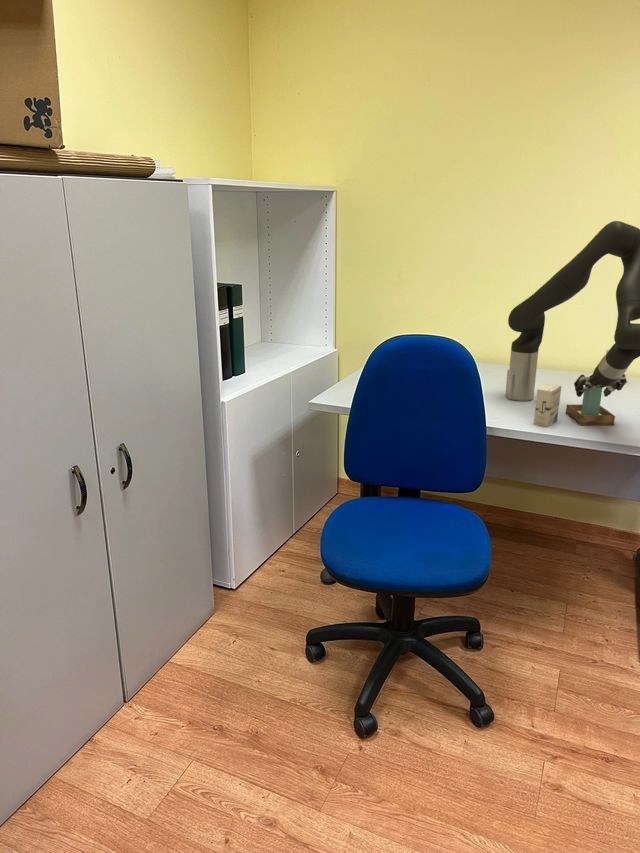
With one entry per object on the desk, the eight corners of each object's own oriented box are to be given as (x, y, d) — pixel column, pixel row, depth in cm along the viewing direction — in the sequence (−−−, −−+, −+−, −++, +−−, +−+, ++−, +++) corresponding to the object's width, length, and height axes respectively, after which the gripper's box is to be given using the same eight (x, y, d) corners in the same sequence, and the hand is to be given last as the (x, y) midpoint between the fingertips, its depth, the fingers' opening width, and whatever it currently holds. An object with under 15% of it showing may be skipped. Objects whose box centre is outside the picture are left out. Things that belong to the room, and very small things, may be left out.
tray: (579, 425, 201) (581, 416, 200) (565, 413, 213) (566, 404, 212) (613, 425, 201) (615, 416, 200) (597, 412, 213) (598, 404, 212)
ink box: (542, 417, 209) (546, 382, 205) (558, 420, 206) (562, 385, 202) (532, 424, 203) (536, 388, 199) (548, 427, 200) (552, 390, 196)
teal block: (585, 417, 205) (590, 381, 201) (581, 413, 209) (585, 378, 205) (598, 417, 205) (603, 381, 201) (593, 413, 209) (598, 377, 205)
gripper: (632, 356, 192) (611, 384, 207) (585, 357, 193) (567, 384, 207) (638, 378, 189) (616, 404, 204) (590, 378, 189) (571, 404, 204)
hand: (591, 394), depth 205 cm, fingers open, 8 cm apart
